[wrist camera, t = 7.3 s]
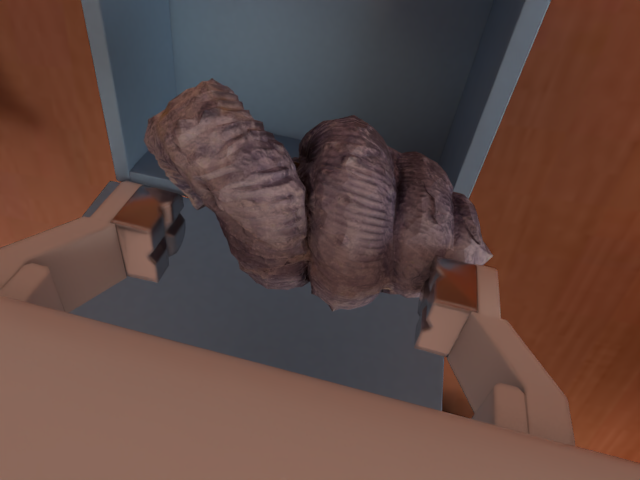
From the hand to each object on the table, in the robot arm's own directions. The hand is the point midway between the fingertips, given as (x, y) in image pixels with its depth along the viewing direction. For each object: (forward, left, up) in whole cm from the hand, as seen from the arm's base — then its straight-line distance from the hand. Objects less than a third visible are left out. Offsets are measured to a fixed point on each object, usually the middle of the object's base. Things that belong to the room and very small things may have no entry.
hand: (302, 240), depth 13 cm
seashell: (0, 0, -4) cm, 4 cm away
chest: (+3, 0, -16) cm, 16 cm away
